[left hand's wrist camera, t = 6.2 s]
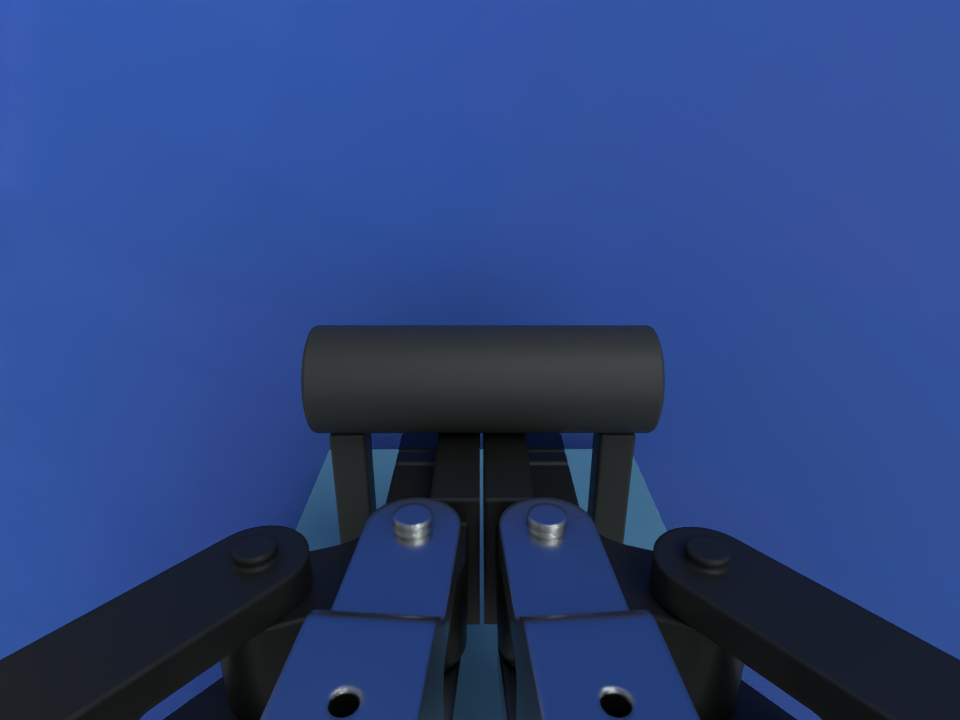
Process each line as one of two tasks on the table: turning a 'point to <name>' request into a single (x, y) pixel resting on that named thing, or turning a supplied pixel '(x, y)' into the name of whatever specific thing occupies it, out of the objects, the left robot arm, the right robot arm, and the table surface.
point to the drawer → (481, 428)
